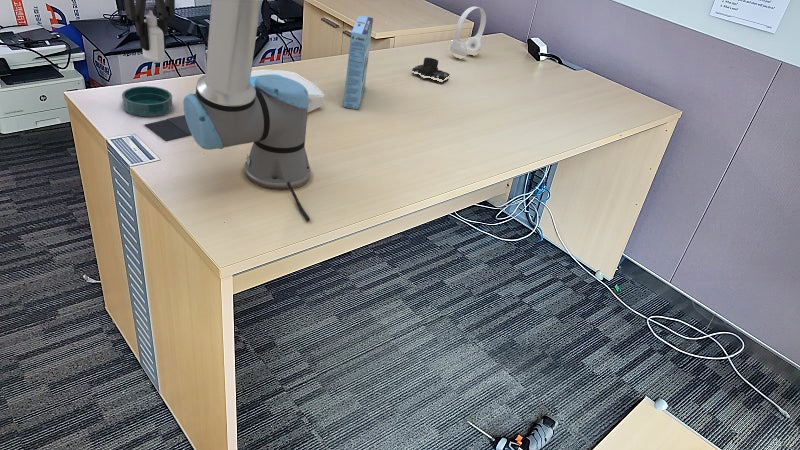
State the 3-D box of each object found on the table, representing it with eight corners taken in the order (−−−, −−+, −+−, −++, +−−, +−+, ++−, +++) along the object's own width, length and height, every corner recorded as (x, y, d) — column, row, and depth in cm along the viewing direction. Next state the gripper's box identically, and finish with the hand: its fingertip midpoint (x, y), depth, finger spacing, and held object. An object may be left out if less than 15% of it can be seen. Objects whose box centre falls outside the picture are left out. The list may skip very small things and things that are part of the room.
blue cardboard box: (358, 110, 183) (368, 35, 170) (341, 107, 183) (350, 32, 170) (364, 87, 199) (374, 17, 187) (349, 84, 199) (358, 14, 186)
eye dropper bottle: (148, 64, 148) (144, 14, 141) (141, 56, 151) (137, 7, 145) (166, 63, 150) (163, 14, 144) (159, 55, 154) (156, 7, 147)
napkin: (208, 130, 156) (208, 129, 156) (165, 141, 148) (165, 139, 148) (187, 116, 161) (187, 114, 161) (144, 125, 153) (144, 123, 153)
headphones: (483, 57, 249) (495, 7, 238) (458, 63, 236) (470, 12, 226) (469, 51, 253) (480, 2, 242) (444, 57, 240) (454, 6, 229)
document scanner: (201, 98, 172) (200, 77, 168) (283, 84, 190) (284, 65, 186) (241, 127, 160) (241, 105, 157) (324, 110, 179) (326, 90, 175)
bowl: (181, 111, 163) (180, 99, 161) (138, 121, 154) (137, 108, 152) (157, 95, 169) (156, 83, 167) (114, 103, 160) (113, 90, 158)
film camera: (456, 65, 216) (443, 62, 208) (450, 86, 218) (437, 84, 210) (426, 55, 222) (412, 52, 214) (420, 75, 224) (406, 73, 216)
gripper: (171, -58, 144) (175, 39, 157) (101, -58, 133) (112, 47, 145) (188, -51, 140) (192, 48, 153) (118, -50, 129) (128, 56, 142)
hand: (153, 47), depth 149 cm, fingers closed on eye dropper bottle, 4 cm apart
